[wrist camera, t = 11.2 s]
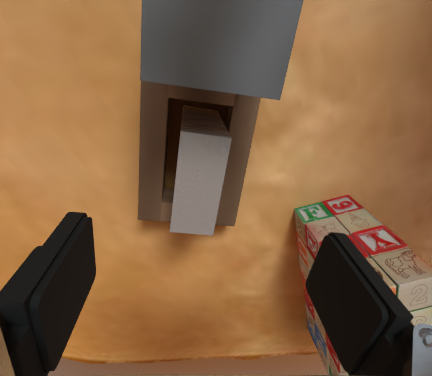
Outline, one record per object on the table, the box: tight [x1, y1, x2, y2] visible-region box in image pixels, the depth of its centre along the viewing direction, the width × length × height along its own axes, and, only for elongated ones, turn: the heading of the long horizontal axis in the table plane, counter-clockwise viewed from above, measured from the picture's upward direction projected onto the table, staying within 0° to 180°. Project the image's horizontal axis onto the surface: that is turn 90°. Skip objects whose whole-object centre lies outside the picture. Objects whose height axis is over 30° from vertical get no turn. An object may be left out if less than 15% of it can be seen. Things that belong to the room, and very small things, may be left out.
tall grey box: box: [170, 105, 232, 235], centre depth 21 cm, size 3×7×9 cm, turn 171°
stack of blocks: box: [294, 195, 432, 376], centre depth 28 cm, size 21×6×12 cm, turn 13°
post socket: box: [138, 0, 303, 226], centre depth 19 cm, size 9×19×11 cm, turn 172°
